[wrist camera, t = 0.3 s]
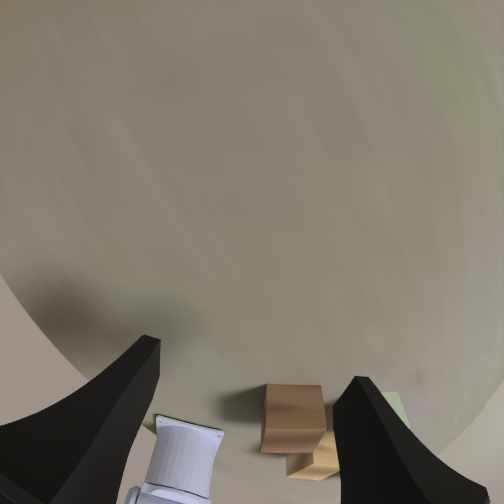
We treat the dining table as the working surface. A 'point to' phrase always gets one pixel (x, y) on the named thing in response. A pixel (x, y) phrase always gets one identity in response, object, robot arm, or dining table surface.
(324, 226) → the dining table surface
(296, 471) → the oak block
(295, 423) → the walnut block
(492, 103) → the dining table surface
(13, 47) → the dining table surface
